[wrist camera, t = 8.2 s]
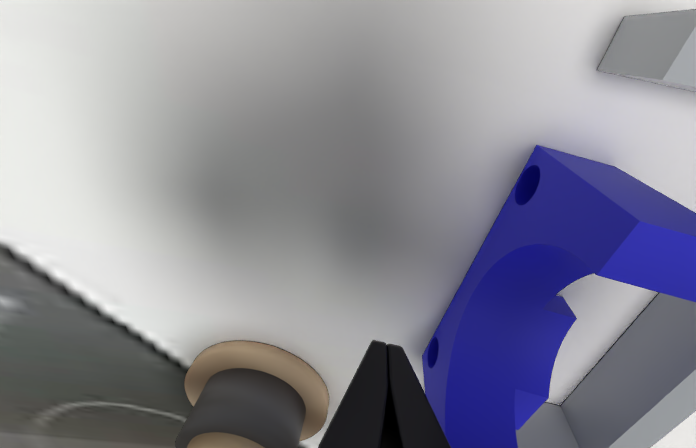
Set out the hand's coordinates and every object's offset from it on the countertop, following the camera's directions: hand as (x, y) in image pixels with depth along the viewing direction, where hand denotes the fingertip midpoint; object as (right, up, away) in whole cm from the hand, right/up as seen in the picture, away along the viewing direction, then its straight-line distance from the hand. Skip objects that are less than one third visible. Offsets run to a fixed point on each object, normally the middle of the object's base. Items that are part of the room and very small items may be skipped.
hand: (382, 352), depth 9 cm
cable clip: (+7, +1, +6) cm, 9 cm away
